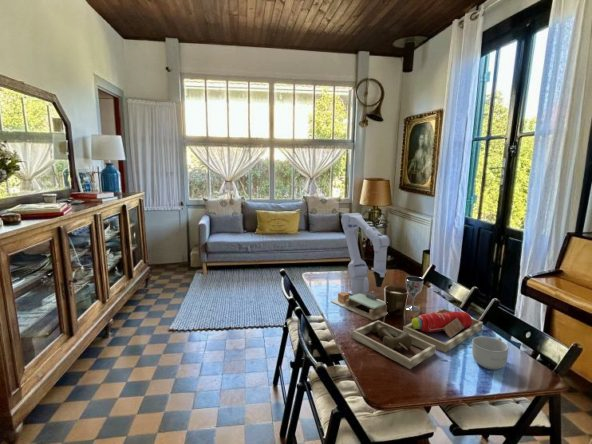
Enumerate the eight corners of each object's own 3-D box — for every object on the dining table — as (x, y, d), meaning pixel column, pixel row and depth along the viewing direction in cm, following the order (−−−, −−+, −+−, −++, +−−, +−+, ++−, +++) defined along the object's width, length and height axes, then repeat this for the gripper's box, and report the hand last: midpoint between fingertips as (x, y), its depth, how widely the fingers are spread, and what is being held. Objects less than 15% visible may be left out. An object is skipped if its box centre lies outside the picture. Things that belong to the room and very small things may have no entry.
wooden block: (343, 299, 170) (343, 291, 169) (349, 301, 167) (349, 293, 166) (337, 300, 168) (338, 293, 167) (343, 303, 165) (343, 295, 164)
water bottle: (482, 322, 132) (424, 326, 128) (477, 339, 134) (421, 343, 130) (463, 305, 143) (409, 308, 139) (459, 321, 146) (406, 324, 142)
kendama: (386, 331, 139) (418, 355, 120) (366, 335, 136) (396, 360, 117) (386, 317, 138) (419, 339, 119) (366, 321, 135) (396, 344, 116)
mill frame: (377, 326, 142) (378, 320, 141) (435, 353, 121) (435, 345, 121) (352, 337, 132) (352, 330, 131) (409, 369, 112) (410, 360, 111)
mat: (344, 297, 174) (344, 296, 174) (356, 302, 167) (356, 301, 167) (330, 301, 168) (330, 300, 167) (342, 307, 161) (342, 306, 161)
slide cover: (359, 294, 166) (360, 289, 165) (385, 304, 154) (385, 299, 153) (348, 298, 161) (348, 293, 160) (374, 309, 149) (374, 303, 148)
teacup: (493, 377, 108) (496, 354, 107) (463, 360, 117) (465, 339, 116) (518, 365, 114) (520, 344, 113) (487, 350, 124) (490, 330, 122)
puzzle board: (370, 297, 173) (370, 290, 173) (399, 309, 159) (400, 301, 159) (343, 307, 161) (344, 299, 161) (373, 320, 147) (373, 311, 147)
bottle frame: (441, 314, 155) (442, 307, 154) (482, 328, 141) (483, 322, 140) (402, 333, 136) (403, 326, 135) (445, 352, 122) (445, 345, 121)
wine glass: (403, 310, 159) (405, 280, 156) (404, 304, 166) (406, 275, 164) (420, 313, 156) (423, 282, 153) (421, 306, 163) (423, 277, 161)
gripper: (369, 255, 168) (368, 281, 171) (374, 264, 154) (373, 291, 156) (383, 256, 168) (381, 281, 170) (389, 264, 154) (388, 292, 156)
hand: (378, 286), depth 163 cm, fingers closed
